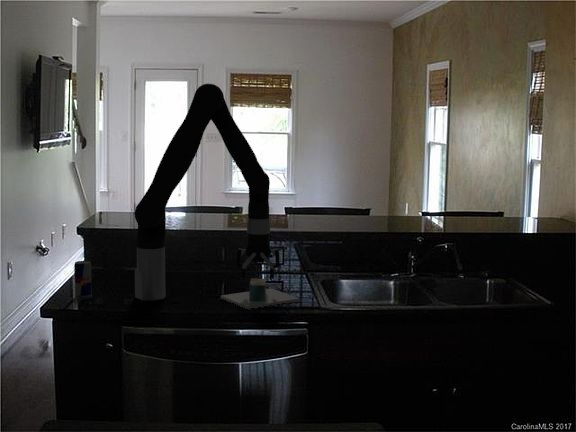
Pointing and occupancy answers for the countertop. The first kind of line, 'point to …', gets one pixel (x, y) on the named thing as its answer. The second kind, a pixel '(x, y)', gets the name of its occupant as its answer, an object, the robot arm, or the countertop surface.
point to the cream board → (270, 299)
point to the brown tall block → (257, 290)
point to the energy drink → (83, 280)
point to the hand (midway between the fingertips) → (258, 279)
